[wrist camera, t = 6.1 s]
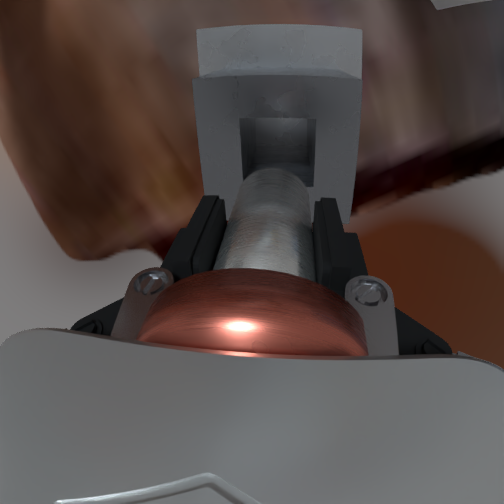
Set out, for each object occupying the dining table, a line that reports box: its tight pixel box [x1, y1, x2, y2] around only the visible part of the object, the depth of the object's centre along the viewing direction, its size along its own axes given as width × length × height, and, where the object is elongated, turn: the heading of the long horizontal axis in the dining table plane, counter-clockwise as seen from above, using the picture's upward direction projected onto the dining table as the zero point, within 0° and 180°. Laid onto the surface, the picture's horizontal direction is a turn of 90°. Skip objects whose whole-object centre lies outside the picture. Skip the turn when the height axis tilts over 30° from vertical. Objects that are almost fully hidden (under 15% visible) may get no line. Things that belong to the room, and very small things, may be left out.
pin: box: [136, 168, 369, 356], centre depth 10 cm, size 6×6×10 cm
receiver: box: [192, 24, 362, 224], centre depth 23 cm, size 18×14×10 cm
